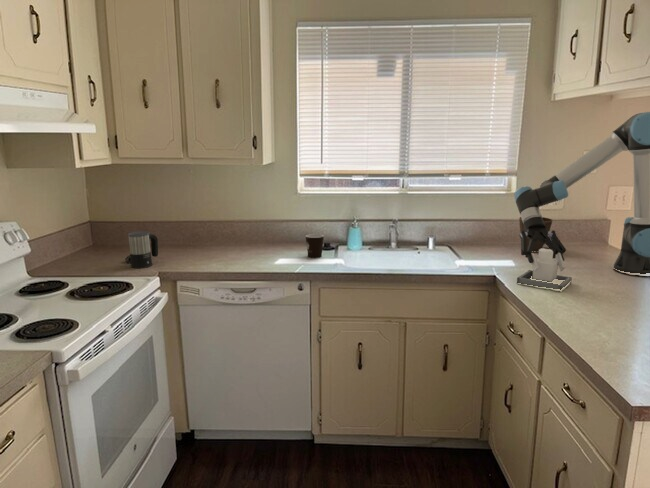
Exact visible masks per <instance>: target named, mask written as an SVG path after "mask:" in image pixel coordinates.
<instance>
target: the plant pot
mask: <svg viewBox="0 0 650 488" xmlns="http://www.w3.org/2000/svg"><path fill="white" fill-rule="evenodd" d="M518 219H519V220H518V221H519V231H520V232H519V233H521V232H522V231H524V232H526V231H525V228H524V224H523V221H522V218H521V216H519V218H518ZM542 219H543V221H544V223H545V228H546V230H547V231H548V232H551V227H552V223H553V220H554V219H552V218H548V217H543V216H542ZM526 238H527V250H528V246H529V242H530V238H529V237H528V236H526ZM545 240H546V239H545ZM544 245H545V244H544V243H543V242H535V243H534V246H533V250H532V251H539V249H540V248H543V247H544Z"/></svg>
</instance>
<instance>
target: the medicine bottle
mask: <svg viewBox="0 0 650 488" xmlns="http://www.w3.org/2000/svg"><path fill="white" fill-rule="evenodd" d="M537 254H538V255H537V258H536V261H537V264H538V267H539V269H538V270H537V271H536V272H534V270H533V269H532V271H533V276H532V279H536V280H542V281H547V282H552V281H553V280H554V279H556V278H557V275H558V269H559V266H558V260H556V258H555V256H556V250H555V249H553V248H549V247H548V246H546V247H544V246H543V247H542V248H540V249H539V252H537Z"/></svg>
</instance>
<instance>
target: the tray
mask: <svg viewBox="0 0 650 488" xmlns="http://www.w3.org/2000/svg"><path fill="white" fill-rule="evenodd" d="M531 276H533V269H532V270H530V269H528V270H527V271H525V272H524V273H522V274H520V275H519V276H518V277H517V278H516V284H517V283H521V284H527V285H533V286H538V287H546V288H553V289H560V290H561V289H562V288H563V287H565V286H566V285H567V284H568V283H569V282H570V281H571V282H572V278H573V277H572V276H568V275H567V276H565V275H560V274H557V278H556V279H558V280H565V281H563V282H562V283H561V284H560V285H558V284H553V283H547V282H542V281H536V280H531V279H530V278H531Z"/></svg>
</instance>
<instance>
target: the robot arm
mask: <svg viewBox="0 0 650 488" xmlns="http://www.w3.org/2000/svg"><path fill="white" fill-rule="evenodd" d="M623 151H624V152H627V151H628V152H629V153H631V154H632V156H633V157H632V158H633V208H634V209H633V212H634V213H633V217H630V216H629V217H626V218H625V219H624V223H623V231H622V240H621V246H620V252H619V254H618V256H617V258H616V260H615V262H614V264H613V268H615V269H617V270H620V271H624V272H630V273H640V274H646V273H650V111H645V112H639V113H636V114H634V115H632V116H631V117H629V118H628V119H627V120H625V121H624V122H623V123H622V124H621V125H620V126H619V127H617V128H616V129H615V130H613V131H612V132H611V133H610V136H609V137H608V138H606V139H604V140H603V141H602V142H600V143H598V144H597V145H596V146H594V147H593V148H592V149H590V150H588V151H587V152H585V154H583V155H582V156H580V157H579V158H577V159H576V160H575V161H573V162H572V163H570V164H569V165H567V166H566V167H565V168H563V169H562V170H560V171H559V172H557V173H556V174H555V175H553V176H551V177H550V178H549V179H547V180H545V181H543V182H542V183H541V185H540V186H539V187H538V188H534V189H533V188H532V187H530V186H521V187H519V188H517V189H516V190H515V192H514V194H513V195H514V199H515V204H516V207H517V209H518V212H519V215H520V217H521V218H522V221H523V224H524V228H525V231H526V232H524V231H522V232H521V233H520V232H519V233H520V234H519V235H518V236H519V237H520V255H521V256H524V257H525V258H527V260H528V263H529V264H531V267H532V271H533V270H534V272H536V271H537V270H538V269H539V267H538V264H537V261H536V260H537V258H536V255H535V252H532V250H533V246H534V243H535V242H543V243H544V245H546V247H547V248H553V249H555V250H556V256H555V260H558V269H559V271H560V272H564V270H565V268H566V265H565V262H564V261H565V257H564V254H565V252H567V249H566V247H565V246H564V244H563V243H562V242H561V240H560V239H559V237H558V236H557V234H556V231H555V230H551V231H549V232H548V231H547V230H546V228H545V223H544V221H543V219H542V217H543V216H542V213H541V210H540V208H541V207H543V206H545V205H549V204H552V203H554V202H558V201H562V200H563V199H566V198H568V197H569V192H568V189H569V188H570V187H571V186H573V185H574V184H575V183H577V182H579V181H580V180H582V179H583V178H584V177H586V176H587V175H590V174H591V173H592V172H594V171H595V170H597V169H598V168H600V167H601V166H603V165H604V164H605V163H607V162H608V161H610V160H612V159H613V158H614V157H616V156H618V155H619V154H621V153H622V152H623ZM526 236H528V237H529V238H530V242H529V246H528V250H527V238H526ZM545 239H546V240H545Z"/></svg>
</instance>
